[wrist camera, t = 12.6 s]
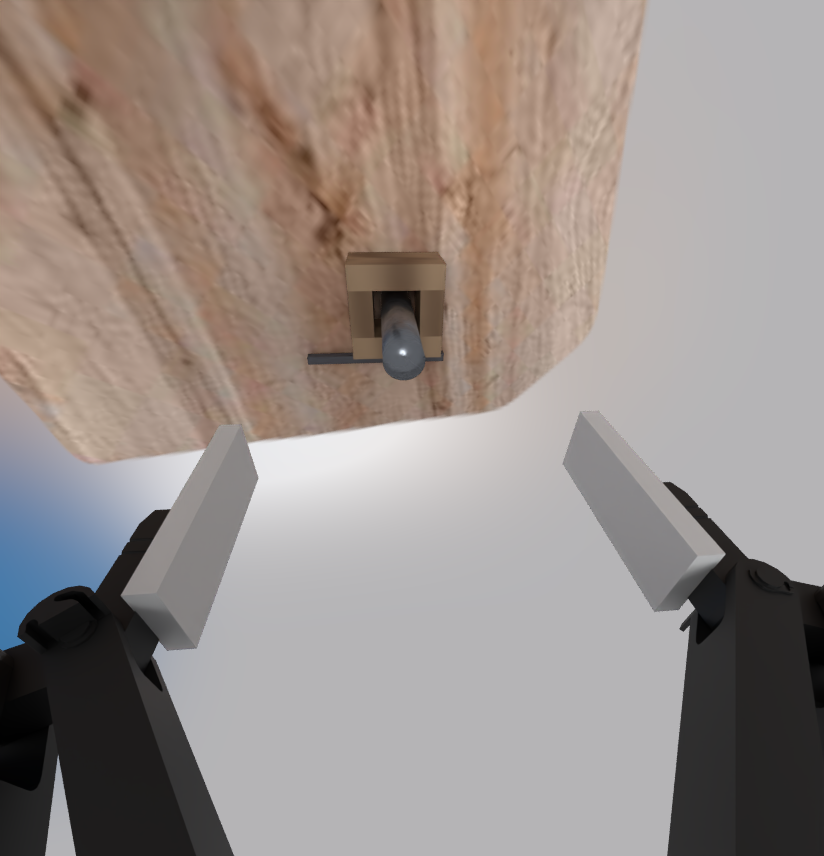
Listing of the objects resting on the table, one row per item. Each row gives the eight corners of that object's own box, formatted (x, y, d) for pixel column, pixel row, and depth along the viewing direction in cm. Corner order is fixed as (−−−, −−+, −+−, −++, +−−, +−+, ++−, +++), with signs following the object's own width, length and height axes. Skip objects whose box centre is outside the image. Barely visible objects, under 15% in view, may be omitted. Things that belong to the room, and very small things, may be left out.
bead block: (355, 338, 37) (353, 359, 33) (348, 252, 33) (344, 265, 29) (433, 336, 38) (440, 356, 34) (437, 251, 33) (446, 264, 29)
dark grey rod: (309, 361, 39) (308, 364, 38) (308, 354, 38) (307, 357, 37) (442, 357, 40) (443, 360, 39) (442, 350, 39) (443, 353, 38)
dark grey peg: (380, 312, 36) (383, 380, 25) (379, 282, 35) (381, 341, 23) (409, 312, 36) (424, 379, 25) (409, 282, 35) (426, 340, 23)
